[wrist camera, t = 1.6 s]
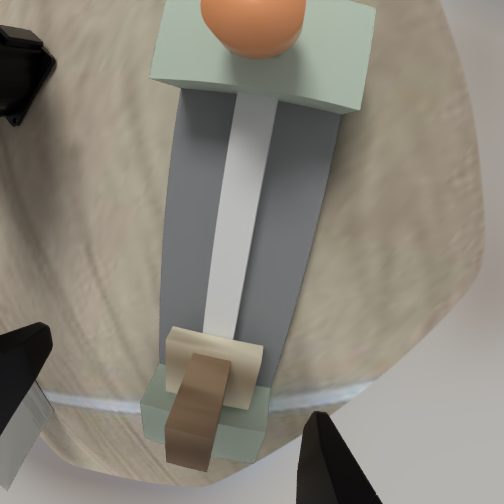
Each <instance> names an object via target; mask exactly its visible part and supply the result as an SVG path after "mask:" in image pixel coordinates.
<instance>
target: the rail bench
mask: <svg viewBox="0 0 504 504" xmlns="http://www.w3.org/2000/svg"><path fill="white" fill-rule="evenodd" d="M200 3H201V0H166V3H165V7H164V11H163V15H162V19H161V23H160V27H159V32H158V36H157V41H156V46H155V50H154V55H153V60H152V66H151V71H150V77H149V78H150V79H153V80H156V81H160V82H163V83H166V84H169V85H173V86H176V87H179V88H181V92H180V98H179V104H178V110H177V116H176V123H175V130H174V137H173V145H172V152H171V160H170V169H169V178H168V187H167V197H166V208H165V220H164V233H163V248H162V265H161V288H160V331H159V356H160V364H159V366H158V368H157V370H156V372H155V374H154V376H153V378H152V380H151V382H150V384H149V386H148V388H147V390H146V392H145V394H144V396H143V398H142V400H141V402H140V406H141V414H142V422H143V429H144V436H145V438H146V439H149V440H152V441H155V442H159V443H162V444H165V432H164V426H165V424H166V421H167V419H168V416H169V413H170V411H171V408H172V406H173V403H174V400H175V398H176V395H177V394H174V393H171V392H167V391H166V373H165V364H166V338H167V336H168V334H169V333H170V331H171V329H172V327H173V326H175V327H179V328H183V329H187V330H191V331H196V332H200V333H204V334H208V335H213V336H217V337H222V338H227V339H231V340H236V341H241V342H246V343H251V344H256V345H261V346H263V354H262V362H261V365H260V369H259V373H258V377H257V380H256V384H255V387H254V391H253V395H252V398H251V402H250V405H249V409H248V410H244V409H239V408H234V407H229V406H224V405H223V406H222V411H221V415H220V419H219V424H218V428H217V432H216V436H215V441H214V445H213V449H212V453H211V456H214V457H218V458H223V459H228V460H234V461H239V462H245V463H251V464H254V461H255V459H256V457H257V454H258V452H259V449H260V447H261V444H262V442H263V439H264V437H265V434H266V429H267V419H268V408H269V397H270V387H271V384H272V381H273V378H274V375H275V372H276V369H277V365H278V362H279V359H280V356H281V352H282V349H283V346H284V343H285V339H286V336H287V333H288V329H289V326H290V322H291V319H292V316H293V312H294V309H295V305H296V302H297V298H298V294H299V291H300V287H301V284H302V280H303V276H304V273H305V269H306V265H307V261H308V257H309V254H310V250H311V246H312V242H313V238H314V234H315V230H316V226H317V222H318V218H319V214H320V210H321V206H322V201H323V197H324V193H325V189H326V184H327V180H328V176H329V171H330V167H331V162H332V157H333V153H334V148H335V143H336V139H337V134H338V129H339V124H340V119H341V115H342V114H346V113H351V112H355V111H360V107H361V102H362V96H363V91H364V85H365V80H366V74H367V68H368V62H369V55H370V49H371V42H372V35H373V28H374V20H375V12H376V8H373V7H370V6H367V5H363V4H360V3H356V2H353V1H349V0H306V9H305V15H304V21H303V27H302V31H301V34H300V36H299V38H298V39H297V41H296V42H295V43H294V44H293V46H291V47H290V48H289V49H288V50H286V51H285V52H283V53H281V54H279V55H277V56H274V57H270V58H265V59H250V58H245V57H241V56H238V55H236V54H234V53H232V52H231V51H229V50H228V49H227V48H225V47H224V46H223V45H222V44H221V42H220V41H219V40H218V39H217V37H216V36H215V35H214V34H213V33H212V32H211V30H210V29H209V28H208V27H207V25H206V24H205V22H204V20H203V18H202V15H201V9H200Z"/></svg>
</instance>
